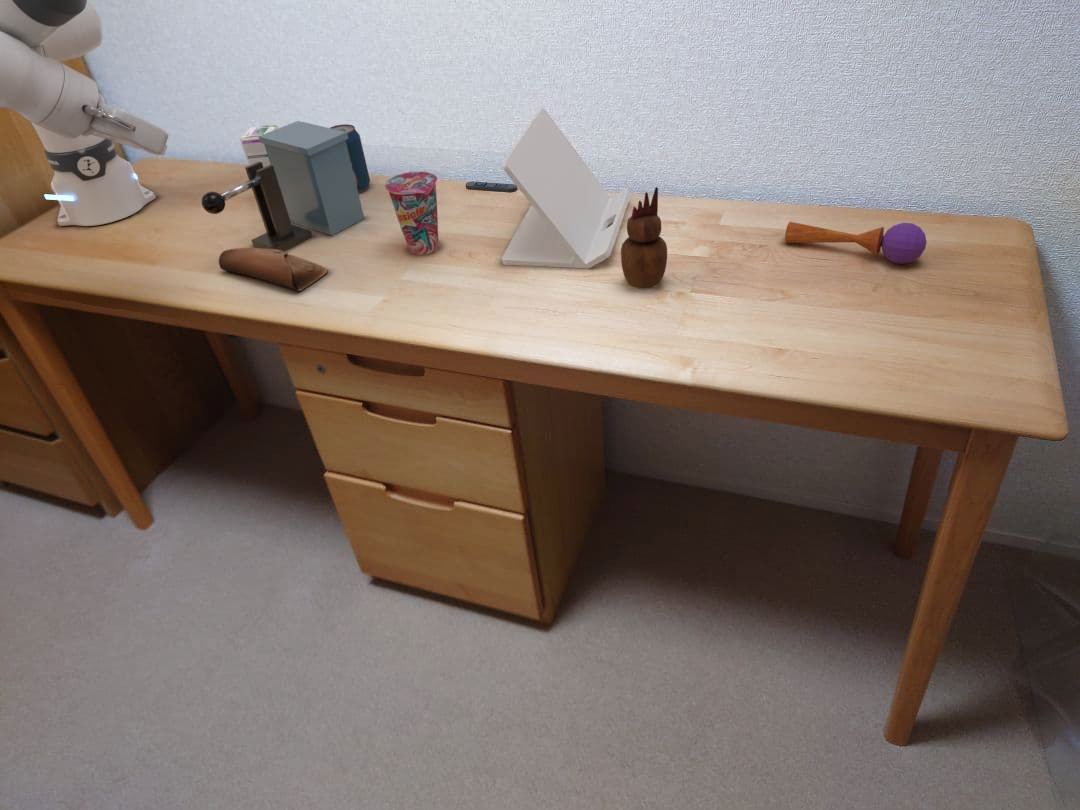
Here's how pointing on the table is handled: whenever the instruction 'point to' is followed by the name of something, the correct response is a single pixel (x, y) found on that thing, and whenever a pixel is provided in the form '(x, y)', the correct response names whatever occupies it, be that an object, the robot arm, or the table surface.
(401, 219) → the cup
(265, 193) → the bracket
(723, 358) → the table surface
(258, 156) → the syrup box
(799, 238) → the kendama
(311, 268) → the sunglasses case
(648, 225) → the wooden figurine
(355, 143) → the soda can
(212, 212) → the flush lever
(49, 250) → the table surface
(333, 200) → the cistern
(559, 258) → the tablet stand
